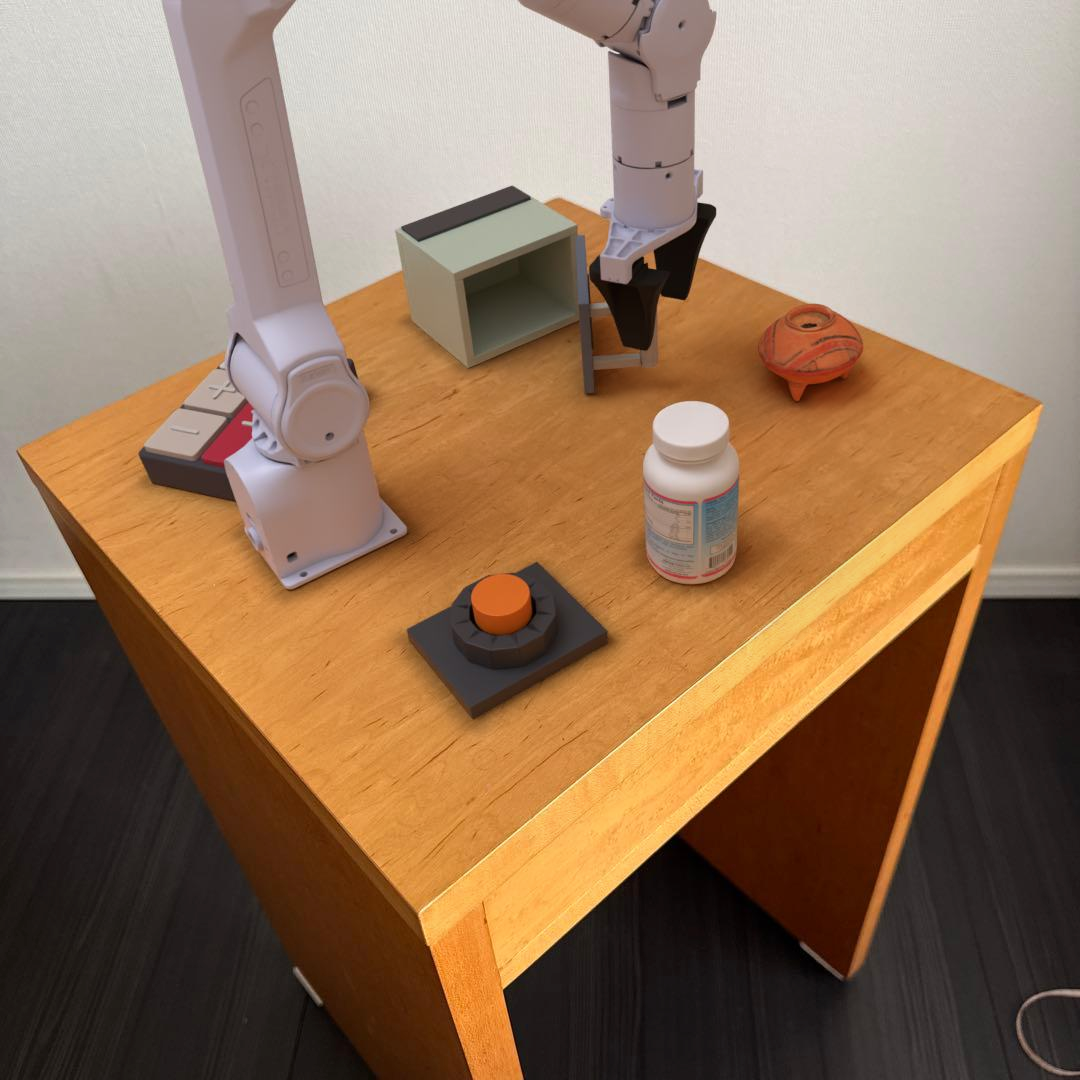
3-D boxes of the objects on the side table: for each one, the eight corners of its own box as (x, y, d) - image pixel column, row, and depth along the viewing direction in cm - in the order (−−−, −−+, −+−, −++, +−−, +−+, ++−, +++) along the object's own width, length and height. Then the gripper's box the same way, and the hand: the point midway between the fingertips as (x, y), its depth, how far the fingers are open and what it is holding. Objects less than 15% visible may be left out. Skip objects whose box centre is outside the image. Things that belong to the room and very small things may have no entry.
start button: (494, 644, 68) (490, 624, 67) (463, 610, 70) (460, 590, 69) (543, 617, 69) (541, 597, 68) (512, 585, 71) (509, 565, 70)
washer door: (659, 388, 90) (658, 298, 84) (584, 393, 90) (578, 304, 84) (649, 316, 98) (648, 229, 92) (581, 321, 98) (575, 235, 92)
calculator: (131, 446, 84) (238, 332, 94) (151, 488, 87) (253, 373, 97) (254, 472, 81) (353, 350, 90) (270, 515, 84) (364, 393, 93)
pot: (856, 415, 85) (843, 339, 81) (757, 417, 89) (739, 345, 85) (877, 355, 90) (866, 281, 86) (782, 360, 94) (767, 289, 90)
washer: (468, 368, 95) (452, 269, 88) (411, 321, 101) (393, 225, 95) (584, 318, 99) (577, 220, 93) (522, 275, 106) (512, 181, 99)
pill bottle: (721, 519, 78) (725, 386, 71) (747, 579, 74) (755, 443, 66) (636, 534, 78) (631, 401, 70) (657, 595, 73) (654, 460, 66)
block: (472, 720, 67) (466, 687, 65) (409, 641, 72) (401, 609, 70) (608, 643, 70) (606, 610, 68) (538, 573, 76) (534, 541, 74)
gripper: (641, 105, 84) (645, 268, 93) (555, 188, 75) (568, 360, 84) (731, 115, 81) (726, 281, 91) (653, 203, 72) (656, 378, 81)
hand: (656, 320), depth 87 cm, fingers open, 7 cm apart
